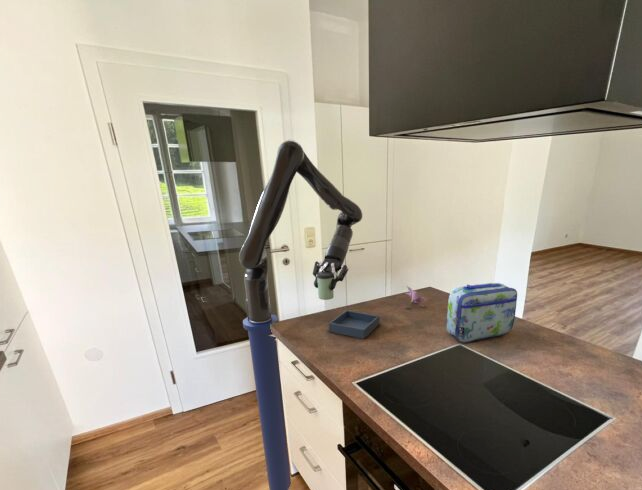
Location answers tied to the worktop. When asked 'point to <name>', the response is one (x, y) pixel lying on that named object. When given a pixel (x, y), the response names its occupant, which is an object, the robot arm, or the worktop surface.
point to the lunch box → (481, 311)
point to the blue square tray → (354, 324)
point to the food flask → (324, 285)
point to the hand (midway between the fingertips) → (323, 288)
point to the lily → (415, 297)
